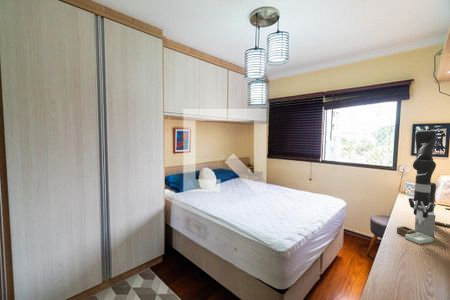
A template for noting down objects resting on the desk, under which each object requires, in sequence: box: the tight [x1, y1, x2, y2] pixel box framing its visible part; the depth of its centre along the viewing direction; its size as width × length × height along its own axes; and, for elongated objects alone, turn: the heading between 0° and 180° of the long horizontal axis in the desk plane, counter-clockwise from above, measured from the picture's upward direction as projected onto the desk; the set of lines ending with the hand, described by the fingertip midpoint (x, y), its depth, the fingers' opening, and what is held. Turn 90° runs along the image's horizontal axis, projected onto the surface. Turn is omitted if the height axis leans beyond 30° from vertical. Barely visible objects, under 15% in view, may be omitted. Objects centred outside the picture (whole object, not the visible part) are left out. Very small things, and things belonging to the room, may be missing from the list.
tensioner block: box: [396, 226, 416, 237], centre depth 142 cm, size 7×7×4 cm
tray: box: [404, 232, 434, 245], centre depth 134 cm, size 13×8×2 cm, turn 105°
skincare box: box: [414, 212, 437, 238], centre depth 141 cm, size 8×7×16 cm
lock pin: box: [415, 207, 425, 225], centre depth 133 cm, size 5×5×10 cm
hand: (420, 216), depth 133 cm, fingers closed on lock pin, 4 cm apart
